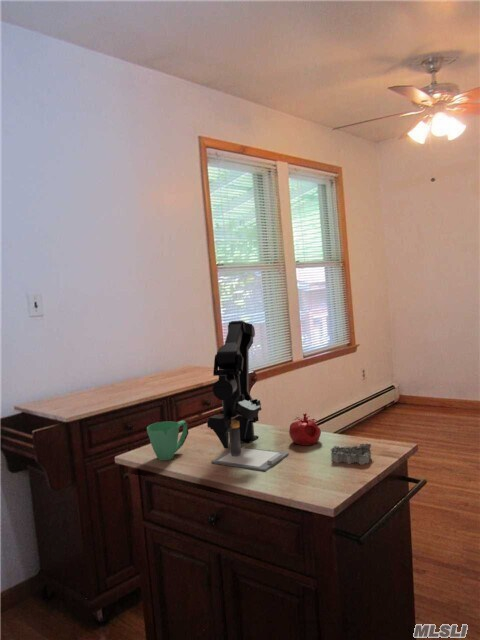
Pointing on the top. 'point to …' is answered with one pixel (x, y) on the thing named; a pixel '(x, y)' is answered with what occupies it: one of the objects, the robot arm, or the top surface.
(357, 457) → the egg carton
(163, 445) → the mug
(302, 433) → the pomegranate
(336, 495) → the top surface
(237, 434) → the marker
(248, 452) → the whiteboard
